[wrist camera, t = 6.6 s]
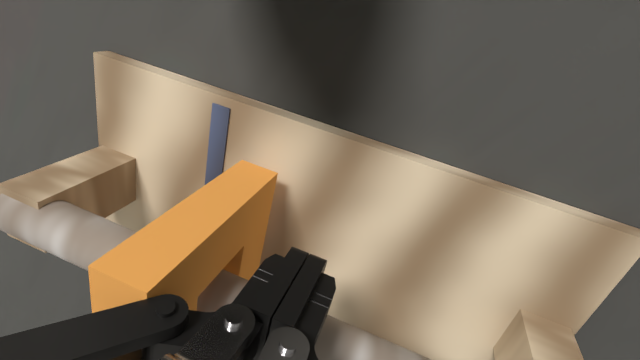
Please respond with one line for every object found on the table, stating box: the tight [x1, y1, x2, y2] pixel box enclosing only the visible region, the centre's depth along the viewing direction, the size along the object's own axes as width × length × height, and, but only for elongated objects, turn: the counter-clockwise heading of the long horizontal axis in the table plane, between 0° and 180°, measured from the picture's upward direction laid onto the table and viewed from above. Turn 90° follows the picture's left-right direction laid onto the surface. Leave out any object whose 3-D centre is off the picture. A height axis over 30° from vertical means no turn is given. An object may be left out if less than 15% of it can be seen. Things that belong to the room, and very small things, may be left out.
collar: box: [88, 160, 278, 313], centre depth 16 cm, size 2×9×9 cm, turn 166°
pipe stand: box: [0, 51, 640, 360], centre depth 18 cm, size 28×14×8 cm, turn 76°
